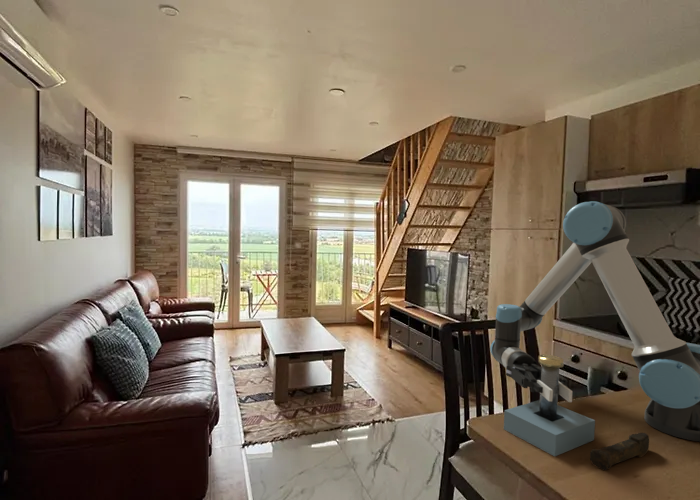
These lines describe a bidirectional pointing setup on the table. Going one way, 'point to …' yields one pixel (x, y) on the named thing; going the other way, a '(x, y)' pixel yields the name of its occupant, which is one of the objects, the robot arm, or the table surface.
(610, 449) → the dark brown wooden club
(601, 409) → the table surface
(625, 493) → the table surface
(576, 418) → the socket block
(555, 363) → the pin
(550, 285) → the robot arm
